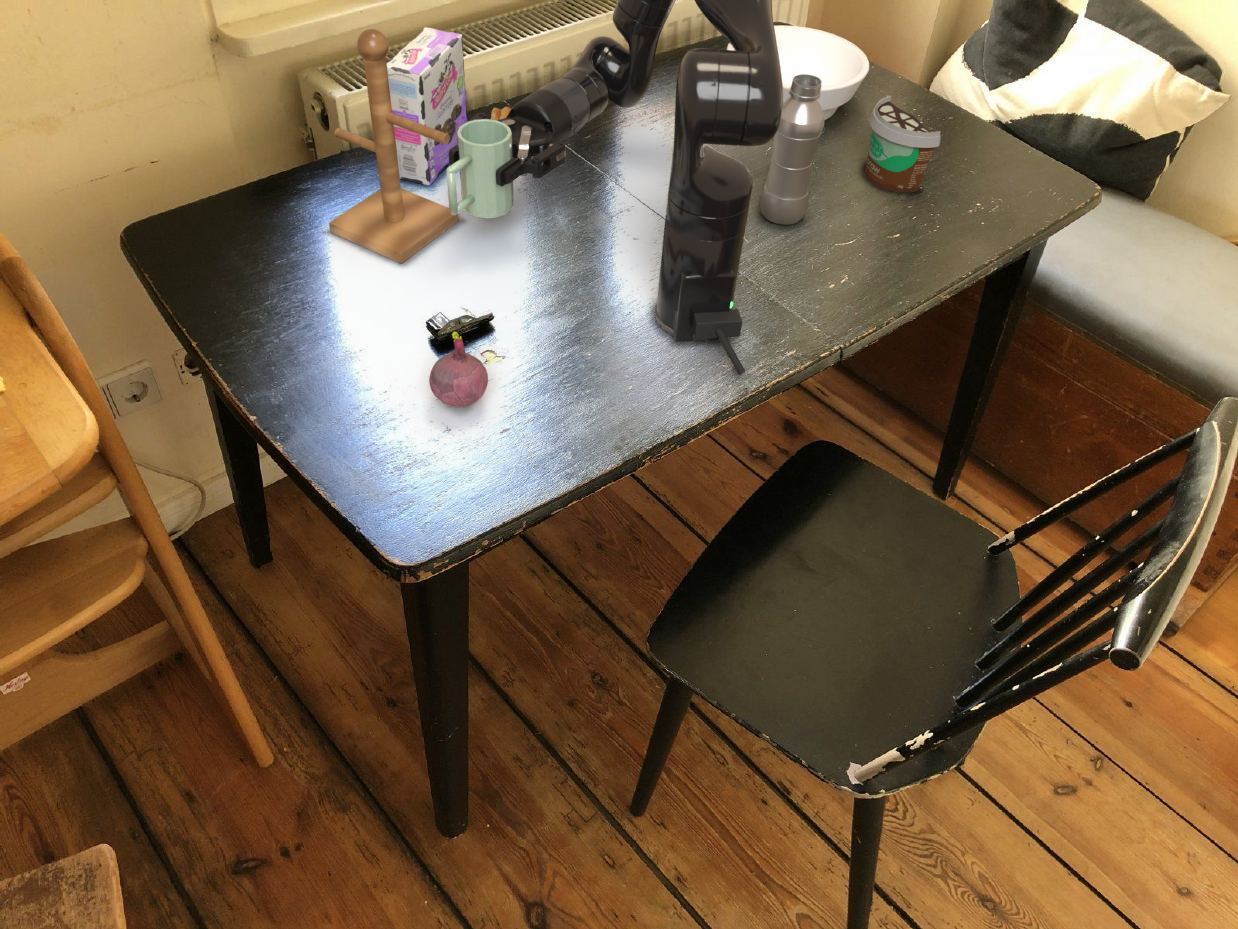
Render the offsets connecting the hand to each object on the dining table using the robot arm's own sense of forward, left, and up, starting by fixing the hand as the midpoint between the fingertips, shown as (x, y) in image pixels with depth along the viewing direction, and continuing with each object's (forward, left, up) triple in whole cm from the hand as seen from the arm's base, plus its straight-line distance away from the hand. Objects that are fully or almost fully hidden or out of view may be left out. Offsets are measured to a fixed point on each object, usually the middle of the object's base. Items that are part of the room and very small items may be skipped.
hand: (474, 169), depth 123 cm
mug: (0, 0, -6) cm, 6 cm away
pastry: (+29, -7, -12) cm, 32 cm away
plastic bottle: (+4, -42, -12) cm, 44 cm away
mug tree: (+6, +11, -12) cm, 17 cm away
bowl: (+36, -52, -12) cm, 65 cm away
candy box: (+23, +5, -12) cm, 26 cm away
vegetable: (-30, +4, -12) cm, 32 cm away
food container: (+13, -60, -12) cm, 63 cm away
